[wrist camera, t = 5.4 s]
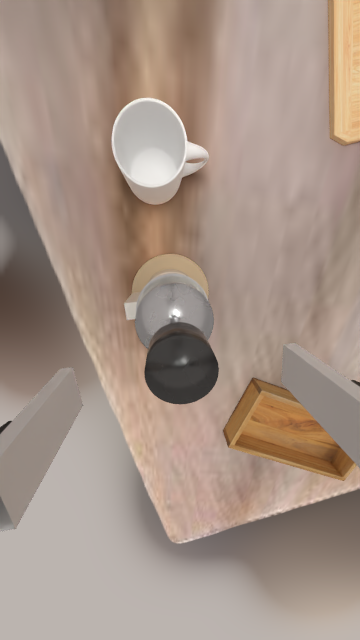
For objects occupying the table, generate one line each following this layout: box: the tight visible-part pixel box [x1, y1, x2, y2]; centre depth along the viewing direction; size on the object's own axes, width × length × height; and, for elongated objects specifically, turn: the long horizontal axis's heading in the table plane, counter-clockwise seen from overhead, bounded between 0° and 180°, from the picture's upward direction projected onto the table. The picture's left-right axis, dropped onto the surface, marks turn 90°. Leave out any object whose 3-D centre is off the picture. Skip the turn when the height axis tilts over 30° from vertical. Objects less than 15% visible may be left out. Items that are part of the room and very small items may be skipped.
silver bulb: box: [135, 282, 219, 404], centre depth 19 cm, size 8×8×11 cm
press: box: [124, 254, 209, 320], centre depth 34 cm, size 14×14×13 cm
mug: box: [112, 98, 209, 205], centre depth 30 cm, size 9×12×11 cm
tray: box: [223, 378, 357, 481], centre depth 49 cm, size 31×15×6 cm, turn 68°
